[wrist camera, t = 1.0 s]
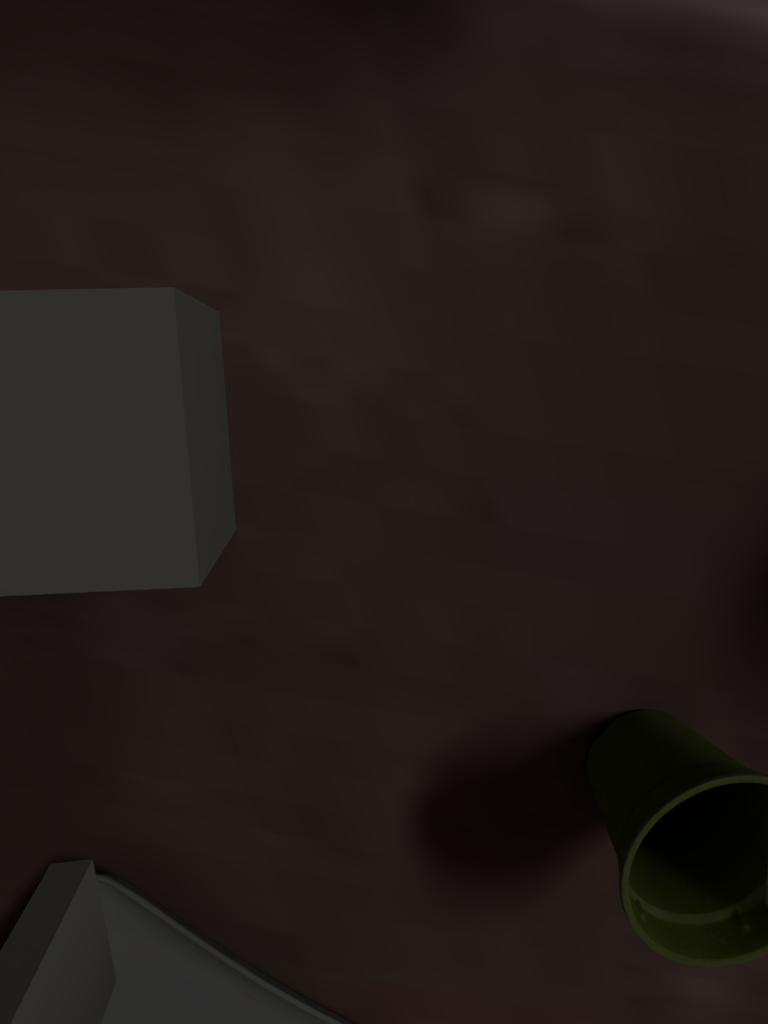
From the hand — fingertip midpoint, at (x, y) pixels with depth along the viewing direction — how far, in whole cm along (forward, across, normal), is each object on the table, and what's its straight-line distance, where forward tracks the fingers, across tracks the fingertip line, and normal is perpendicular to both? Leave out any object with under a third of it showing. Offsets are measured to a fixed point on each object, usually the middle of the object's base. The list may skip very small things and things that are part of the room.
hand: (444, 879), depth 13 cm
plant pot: (+21, +13, -12) cm, 28 cm away
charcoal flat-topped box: (+21, -12, +8) cm, 25 cm away
